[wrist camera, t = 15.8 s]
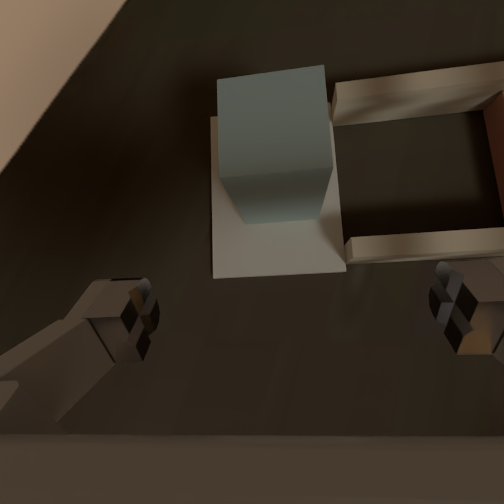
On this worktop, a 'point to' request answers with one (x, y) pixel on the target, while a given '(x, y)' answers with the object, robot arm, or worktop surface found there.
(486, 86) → the wooden divided tray
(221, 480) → the robot arm
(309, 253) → the pad
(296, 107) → the grey-green block
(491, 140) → the box
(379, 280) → the worktop surface
